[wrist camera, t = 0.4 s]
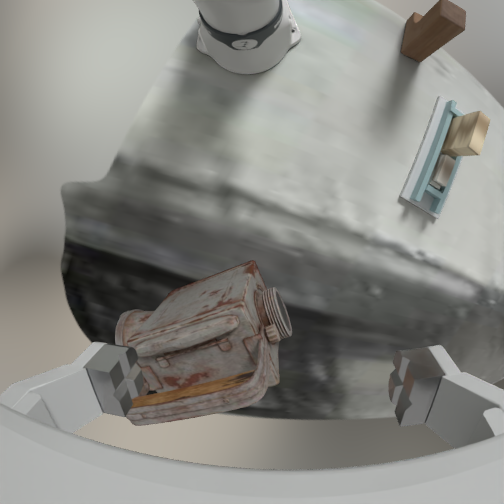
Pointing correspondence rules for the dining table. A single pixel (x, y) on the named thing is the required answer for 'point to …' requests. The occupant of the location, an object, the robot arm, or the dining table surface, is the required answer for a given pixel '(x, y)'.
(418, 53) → the wooden block
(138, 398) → the lantern
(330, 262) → the dining table surface
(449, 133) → the beige rectangular slab
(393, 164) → the dining table surface
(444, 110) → the rack
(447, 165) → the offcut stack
